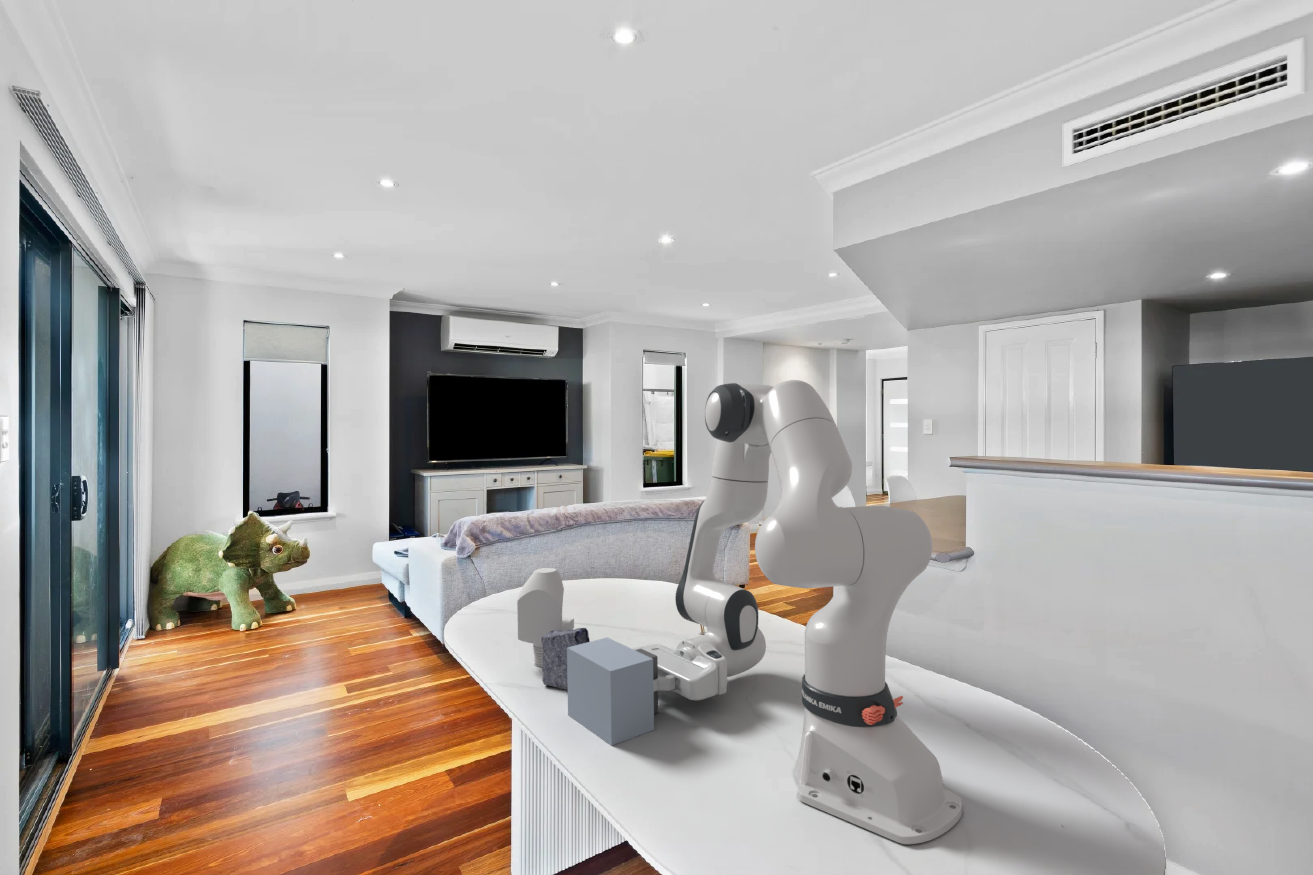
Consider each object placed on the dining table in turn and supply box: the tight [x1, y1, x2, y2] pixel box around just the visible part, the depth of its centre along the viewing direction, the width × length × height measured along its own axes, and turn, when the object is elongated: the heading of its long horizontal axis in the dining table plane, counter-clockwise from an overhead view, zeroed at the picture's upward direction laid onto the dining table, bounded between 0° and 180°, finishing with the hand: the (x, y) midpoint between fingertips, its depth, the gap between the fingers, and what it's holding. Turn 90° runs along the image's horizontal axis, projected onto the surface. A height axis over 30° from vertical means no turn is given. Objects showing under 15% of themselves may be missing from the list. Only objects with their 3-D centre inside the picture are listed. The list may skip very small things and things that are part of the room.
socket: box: [567, 637, 655, 746], centre depth 112 cm, size 14×9×12 cm, turn 37°
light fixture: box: [516, 567, 575, 668], centre depth 140 cm, size 9×9×20 cm
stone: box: [541, 627, 591, 691], centre depth 130 cm, size 12×10×10 cm
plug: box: [635, 649, 659, 714], centre depth 114 cm, size 5×8×10 cm, turn 127°
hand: (636, 680), depth 115 cm, fingers closed on plug, 5 cm apart
